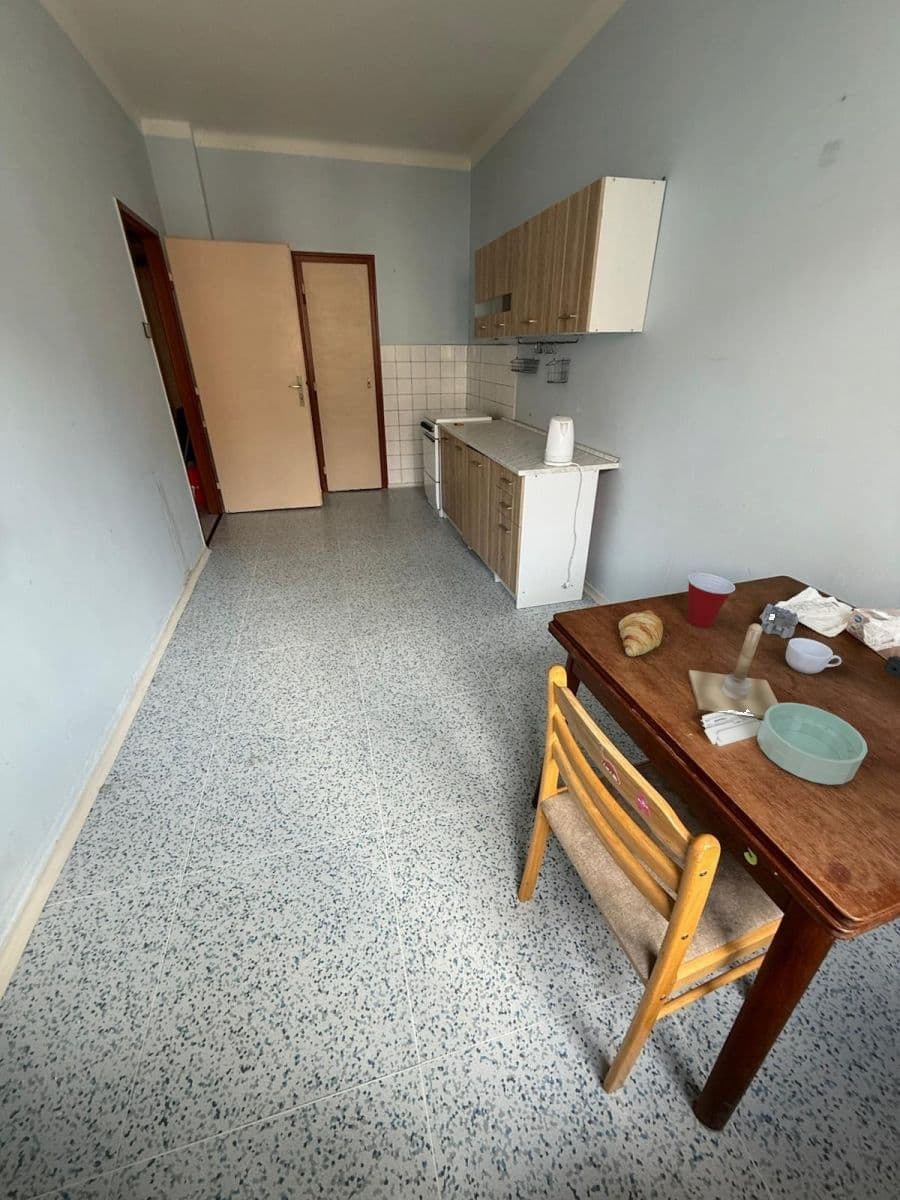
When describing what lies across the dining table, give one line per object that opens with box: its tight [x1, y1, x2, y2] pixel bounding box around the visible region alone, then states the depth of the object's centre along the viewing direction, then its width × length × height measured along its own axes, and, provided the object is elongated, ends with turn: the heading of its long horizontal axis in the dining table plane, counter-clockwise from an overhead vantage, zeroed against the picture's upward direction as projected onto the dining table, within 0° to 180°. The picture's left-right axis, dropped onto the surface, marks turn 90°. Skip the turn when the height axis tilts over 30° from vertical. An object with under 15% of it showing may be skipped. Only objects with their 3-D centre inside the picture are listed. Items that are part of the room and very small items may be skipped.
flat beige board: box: [688, 669, 779, 720], centre depth 96 cm, size 15×12×1 cm
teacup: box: [785, 637, 842, 675], centre depth 102 cm, size 10×8×5 cm
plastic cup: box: [686, 572, 736, 629], centre depth 119 cm, size 11×11×12 cm
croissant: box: [618, 609, 664, 657], centre depth 114 cm, size 21×10×8 cm, turn 150°
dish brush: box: [722, 623, 763, 700], centre depth 92 cm, size 5×5×16 cm
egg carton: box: [760, 603, 800, 639], centre depth 118 cm, size 11×8×4 cm
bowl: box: [756, 702, 869, 786], centre depth 81 cm, size 14×14×6 cm
